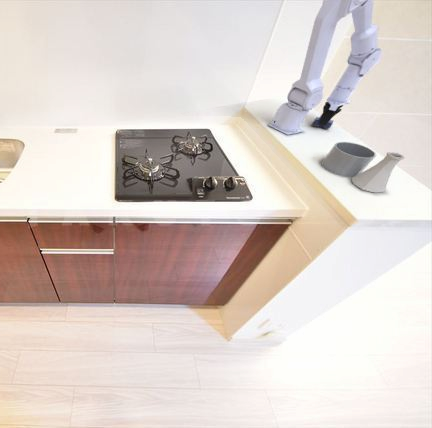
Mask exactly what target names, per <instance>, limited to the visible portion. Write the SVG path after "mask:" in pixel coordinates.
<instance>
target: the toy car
mask: <svg viewBox="0 0 432 428" xmlns="http://www.w3.org/2000/svg"><path fill="white" fill-rule="evenodd" d="M322 114H323V113H321V114H320V116H319V117H318V116H315V118H314V119H313V121H312V123H311V126H312V128H316V127H317V126H318V127H323V130H326V131H327V130H329V129H330V128H331V127H332V126H333V124H334V120H333V119H331V120H330V121H329V122H328V123H327V124H326V125H325V126H322V125H318V124H319V121H320V119H321V117H322Z"/></svg>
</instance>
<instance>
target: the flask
mask: <svg viewBox="0 0 432 428" xmlns="http://www.w3.org/2000/svg"><path fill="white" fill-rule="evenodd" d="M404 159H405V156H404V154H401V153H399V152H396V151H395V152H394V151H389V152H388V151H387V152H386V155H385V156H384V157H383V158H382V159H381V160H380V161H378V162H377V163H375V165H373V166H371V167H369V168H368V169H366V170H363V171H362V172H361V173H360V174H359V175H357V176H355V177H351V182H352V184H353V185H354V186H356V187H357V188H359V189H361V190H363V191H367V192H371V193H385V192H386V191H385V190H386V188H387V185H388V182H389V179H390V177H391V174H392V172H393V170H394V169H395V167H396V166H397V164H399V162H401V161H402V160H404Z"/></svg>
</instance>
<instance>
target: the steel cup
mask: <svg viewBox="0 0 432 428" xmlns="http://www.w3.org/2000/svg"><path fill="white" fill-rule="evenodd" d="M376 156H377V153H376V152H375V150H373V149H372V148H370V147H368V146H365V145H362V144H361V143H355V142H352V141H351V142H350V141H337V142H336V143H334V145H333V146H332V148H331V149H330V150H329V151H328V153H327V154H326V156H325V157H324V159H323V160H322V162H321V166H322V167H323V168H324V169H325V170H326V171H328V172H330V173H331V174H334V175H338V176H341V177H347V178H353V177H355V176H357V175H359V174H360V173H362V172H364V171H365V169H366V168H367V167H368V166H369V165H370V163H371V162H372V161H373V160H374V159H375V158H376Z"/></svg>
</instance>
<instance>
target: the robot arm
mask: <svg viewBox="0 0 432 428" xmlns="http://www.w3.org/2000/svg"><path fill="white" fill-rule="evenodd" d="M373 12H374V0H322V3H321V6H320V8H319V10H318V12H317V14H316V16H315V19H314V21H313V26H312V30H311V32H310V33H311V34H310V38H309V41H308V45H307V49H306V53H305V58H304V62H303V66H302V69H301V73H300V77H299V79H297V80H296V81H294V82H293V83H292V85H291V88H290V90H289V91H288V94H287V97H286V99H287V102H284V103H283V104H281V105H280V106H279V107H278V109H277V110H276V112H275V114H274V117H273V118H272V121H271V123H269V124H268V126H269V127H271V128H272V129H274V130H277V131H278V132H281V133H283V134H285V135H287V136H288V135H289V136H290V135H294V134H298V133H302V132H303V131H304V130H303V129H300V128H301V125H302V123H304V120H305V118H306V117H307V115H308V113H309V111H312V110H313V109H314V108H316V107H317V106H319V104H320V103H321V101H322V100H323V99H324V92H323V90H324V84H323V81H322V80H321V76H322V73H323V70H324V66H325V63H326V60H327V57H328V54H329V50H330V47H331V44H332V41H333V37H334V35H335V32H336V27H337V25H338V22H339V21H341V20H342V19H343V18H346V17H347V16H348V15H350V14H351V17H352V23H353V27H354V32H352V34H351V36H350V38H349V39H350V48H351V49H350V53H349V55H348V57H347V60H346V63H347V64H348V65H347V67H346V69H345V70H344V72H343V74H342V75H341V76H340V79H339V80H338V81H337V83H336V85H335V86H334V88H333V90H332V91H331V93H330V94H329V97H327V98H326V101H325V103H324V105H323V107H322V113H321V114H322V117H321V119H320V121H319V124H318V125H322V126H325V125H326V124H327V123H328V122H329V121H330V120H332V119H333V118H334V117H335V116H336V115H337V114H340V112H341V111H342V107H344V105H350V104H351V100H349V99H350V97H351V96H352V95H353V93H354V91H355V90H356V89H357V87H358V86H359V84H360V83H361V81H362V79H363V78H364V76H365V75H367V74H368V73H369V72H370V71H371V69H372V68H374V67H375V66H376V65H377V64H378V63H379V62H380V61H381V59H382V56H383V51H382V49H381V48H380V47H378V45H379V44H378V43H379V42H378V31H379V26H378V25H376V24H373V23H372V22H373ZM318 125H317V126H318ZM322 126H321V127H322Z"/></svg>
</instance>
